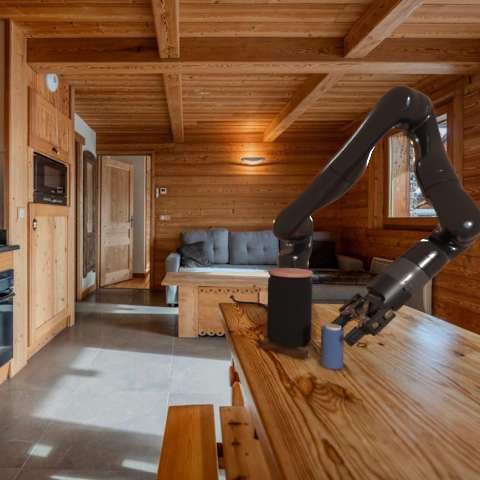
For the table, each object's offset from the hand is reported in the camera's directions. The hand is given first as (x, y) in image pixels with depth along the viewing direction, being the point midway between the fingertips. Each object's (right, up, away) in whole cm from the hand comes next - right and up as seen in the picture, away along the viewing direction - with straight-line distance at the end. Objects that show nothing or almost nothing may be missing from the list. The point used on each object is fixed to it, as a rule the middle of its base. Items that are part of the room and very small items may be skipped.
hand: (338, 336), depth 82 cm
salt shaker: (-1, -6, 0) cm, 6 cm away
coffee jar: (-5, -5, +16) cm, 18 cm away
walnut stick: (-9, -6, +8) cm, 14 cm away
